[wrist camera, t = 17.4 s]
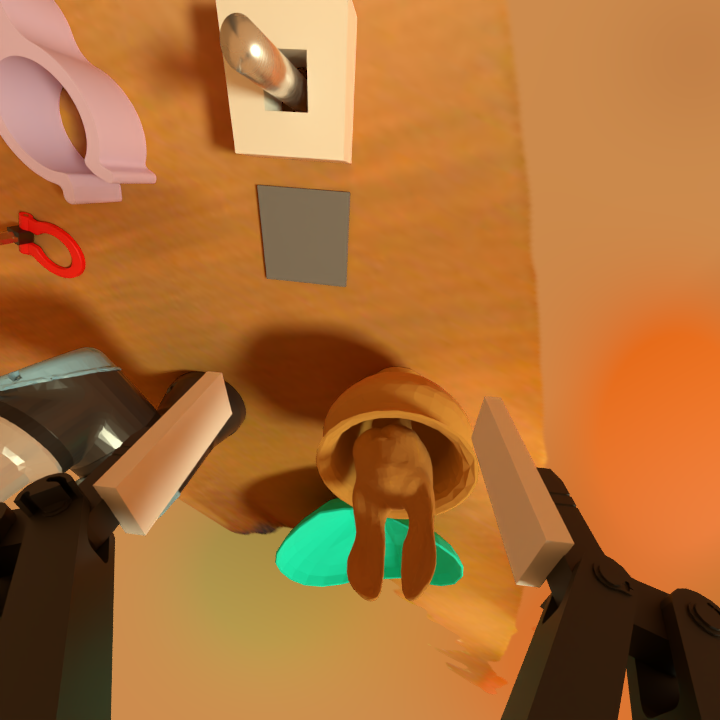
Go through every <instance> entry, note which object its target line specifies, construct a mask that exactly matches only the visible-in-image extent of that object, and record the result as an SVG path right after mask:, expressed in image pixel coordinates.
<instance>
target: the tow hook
mask: <svg viewBox="0 0 720 720" xmlns="http://www.w3.org/2000/svg"><path fill="white" fill-rule="evenodd" d="M42 233H48V234H51V235H53V236H55V237H56V238H58V239H59V240H60V241H62V242H63V244H64V245H65V246H66V247H67V248H68V250H69V252H70V254H71V256H72V265H71V267H69V268H64V267H61V266H58V265H57V264H55V263H53V262H52V261H51V260H50V259H49V258H48V257H47V256H46V255H45V254H44V252H43V251H42V249H41V247H39V246H38V245H36V244H34V243H33V242H34V234H35V235H40V234H42ZM9 243H15V244H17V245H19V251H20V252H21V253H23V254H27V255H32V256H33V257H35V259H36V260H37V261H38V262H39V263H40V264H41V265H42V266H43V267H45V268H46V269H47V270H49V271H50V272H52V273H54V274H56V275H58V276H61V277H64V278H74V277H77V276H80V275H81V274H82V273H83V272H84V270H85V258H84V255H83V253H82V251H81V249H80V247H79V246H78V244H77V243H76V241H75V240H74V239H73V238H72V237H71V236H70V235H69V234H68V233H66V232H65V231H64V230H63V229H61V228H59V227H58V226H56V225H54V224H51V223H48V222H38V221H37V220H35V219H33V216H32V215H31V214H29V213H26V212H20V213H19V225H18V226H11V227H7V231H4V232H0V245H4V244H9Z"/></svg>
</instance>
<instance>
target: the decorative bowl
mask: <svg viewBox="0 0 720 720" xmlns="http://www.w3.org/2000/svg"><path fill="white" fill-rule="evenodd" d="M472 434H473V430H472V426H471V424H470V421H469V419H468V417H467V415H466V414H465V412H464V411H463V409H462V408H461V406H460V405H459V403H458V402H457V401H456V400H455V399H454V398H453V397H452V396H451V395H449V394H448V393H447V392H446V391H445V390H444V389H442V388H441V387H440V386H439V385H437V384H435V383H434V382H432V381H430V380H428V379H426V378H424V377H422V376H421V375H420V374H418V373H416V372H415V371H413V370H411V369H408V368H403V367H389V368H386V369H383V370H381V371H380V372H378V373H377V374H375V375H372V376H369V377H366V378H364V379H363V380H361V381H359V382H357V383H355V384H354V385H352V386H351V387H350V388H348V389H347V390H346V391H345V392H344V393H342V394H341V395H340V396H339V397H338V399H337V400H336V401H335V402H334V403H333V404H332V406H331V408H330V410H329V412H328V414H327V416H326V418H325V422H324V427H323V438H322V440H321V442H320V444H319V446H318V449H317V456H316V464H317V468H318V472H319V475H320V476H321V478H322V480H323V482H324V483H325V485H326V486H327V487H328V488H329V489H330V491H331V492H332V493H334V494H335V495H336V496H337V497H338V498H340V499H341V500H342V501H344V502H346V503H347V504H349V505H351V506H352V507H353V512H354V519H355V526H356V536H355V541H354V543H353V546H352V549H351V551H350V554H349V556H348V560H347V576H348V581H349V582H350V584H351V586H352V587H353V589H354V590H355V591H356V592H357V593H358V594H359V595H360V596H361V597H362V598H364V599H365V600H368V601H375V600H376V599H377V598H378V597H379V595H380V593H381V588H382V583H383V577H384V559H385V522H386V519H387V518H393V519H409V529H408V532H407V536H406V538H405V540H404V543H403V548H402V562H401V579H402V591H403V593H404V595H405V598H406V599H408V600H409V601H414V600H417V599H418V598H419V597H420V596H421V595H422V594H423V593H424V591H425V590H426V588H427V587H428V586H429V584H430V582H431V580H432V577H433V575H434V572H435V567H436V545H435V536H434V516H435V515H438V514H442V513H445V512H447V511H449V510H451V509H453V508H455V507H456V506H458V505H459V504H461V503H462V502H463V501H464V500H466V499H467V498H468V496H469V495H470V494H471V493H472V491H473V490H474V488H475V486H476V483H477V481H478V475H479V466H478V461H477V458H476V455H475V453H474V451H473V442H472V439H471V437H472Z"/></svg>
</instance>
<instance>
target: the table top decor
mask: <svg viewBox="0 0 720 720" xmlns="http://www.w3.org/2000/svg"><path fill="white" fill-rule="evenodd" d="M408 529H409V519H393V518H387V519H386V522H385V559H384V577H383V579H392V578H401V562H402V548H403V543H404V540H405V538H406V536H407V532H408ZM355 536H356V526H355V519H354V512H353V507H352V506H351V505H349V504H347V503H346V502H344V501H342V500H341V499H340V498H335V499H332V500H329V501H328V502H327V503H325V504H324V505H322V506H321V507H319V508H318V509H317V510H315V511H314V512H312V513H311V514H309V515H308V516H307V517H305V518H304V519H303V520H302V521H301V522H300V523H299V524H298V525H297V526H296V527H294V528H293V529H292V530H291V531H290V533H289V534H288V536H287V537H286V538H285V540H284V541H283V543H282V544H281V546H280V547H279V549H278V551H277V552H276V561H275V563H276V565H277V566H278V568H279V570H280V571H281V572H282V573H283V574H284V575H285V576H287V577H288V578H289V579H291V580H293V581H295V582H298V583H300V584H303V585H309V586H321V587H323V586H331V585H340V584H345V583H348V582H349V581H348V576H347V560H348V556H349V554H350V551H351V549H352V546H353V543H354V541H355ZM434 536H435V545H436V567H435V572H434V575H433V577H432V580H431V582H430V585H437V586H445V585H452V584H455V583H456V582H457V581H458V580H459V579H461V578H462V576H463V565H462V563H461V561H460V559H459V557H458V555H457V553H456V552H455V551H454V549H453V548H452V547H451V545H450V544H449V543H447V542H446V541H445V540H444V539H443V538H442V537H441V536H440V535H438V534H437V533H435V532H434Z"/></svg>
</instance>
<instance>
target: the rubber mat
mask: <svg viewBox="0 0 720 720" xmlns="http://www.w3.org/2000/svg"><path fill="white" fill-rule="evenodd" d="M257 188H258V198H259V207H260V217H261V227H262V237H263V246H264V256H265V266H266V275H267V279H276V280H286V281H295V282H304V283H314V284H323V285H333V286H342V287H346V279H347V255H348V230H349V206H350V192H339V191H326V190H314V189H301V188H289V187H276V186H264V185H257Z"/></svg>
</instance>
